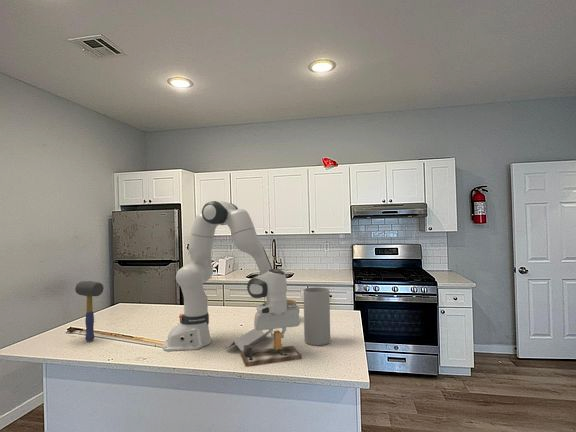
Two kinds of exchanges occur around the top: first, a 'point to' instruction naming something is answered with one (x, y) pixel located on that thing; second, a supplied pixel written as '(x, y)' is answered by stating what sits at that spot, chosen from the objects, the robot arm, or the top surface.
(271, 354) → the gauge board
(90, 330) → the rubber mallet
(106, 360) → the top surface
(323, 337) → the cylinder vase
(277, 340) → the sliding jaw
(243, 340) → the z bracket
